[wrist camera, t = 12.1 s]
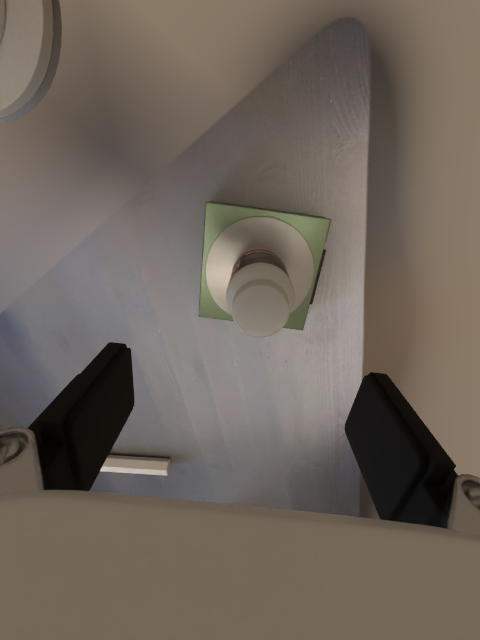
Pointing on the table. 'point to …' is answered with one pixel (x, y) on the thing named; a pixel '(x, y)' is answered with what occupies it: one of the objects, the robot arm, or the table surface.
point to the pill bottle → (260, 293)
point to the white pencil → (136, 465)
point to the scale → (226, 214)
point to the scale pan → (259, 235)
